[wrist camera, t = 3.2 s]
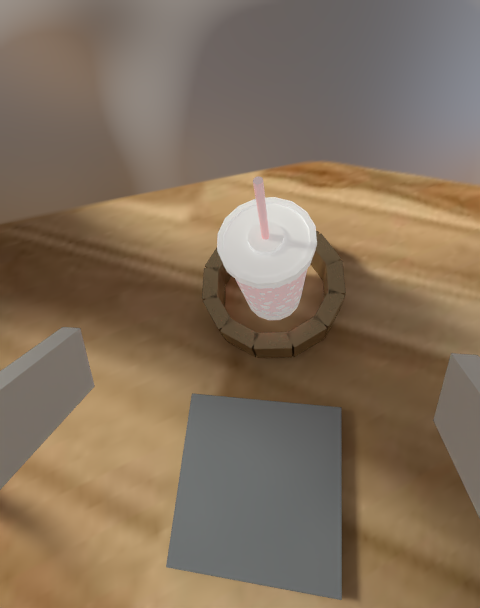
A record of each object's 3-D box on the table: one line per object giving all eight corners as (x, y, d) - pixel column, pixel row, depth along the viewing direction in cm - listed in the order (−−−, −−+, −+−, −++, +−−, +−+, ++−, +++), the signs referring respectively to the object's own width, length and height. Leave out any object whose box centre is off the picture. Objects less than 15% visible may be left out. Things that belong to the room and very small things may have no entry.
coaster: (171, 561, 23) (166, 567, 22) (195, 395, 27) (191, 393, 26) (339, 592, 21) (341, 600, 20) (339, 408, 25) (341, 407, 24)
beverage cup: (304, 334, 27) (316, 243, 14) (231, 323, 28) (180, 230, 16) (314, 267, 29) (331, 133, 16) (245, 259, 30) (210, 129, 18)
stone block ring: (187, 319, 29) (177, 307, 26) (250, 223, 32) (246, 202, 29) (301, 382, 26) (302, 376, 23) (360, 269, 28) (368, 251, 26)
